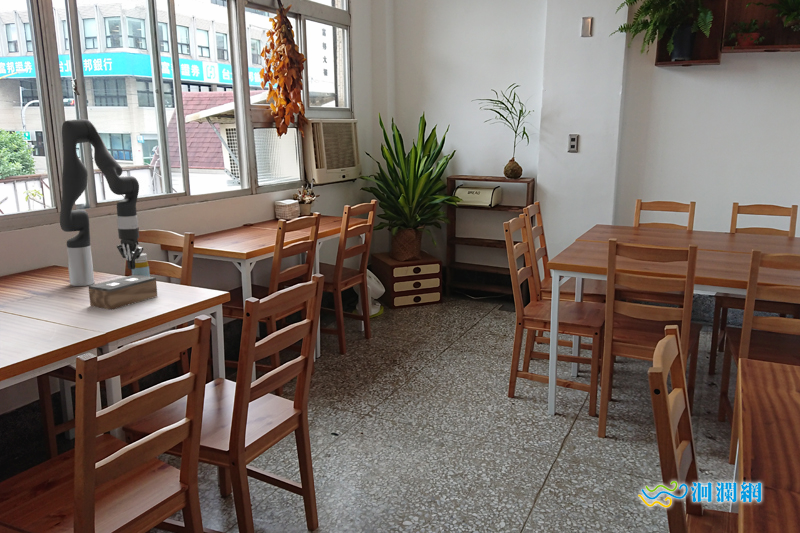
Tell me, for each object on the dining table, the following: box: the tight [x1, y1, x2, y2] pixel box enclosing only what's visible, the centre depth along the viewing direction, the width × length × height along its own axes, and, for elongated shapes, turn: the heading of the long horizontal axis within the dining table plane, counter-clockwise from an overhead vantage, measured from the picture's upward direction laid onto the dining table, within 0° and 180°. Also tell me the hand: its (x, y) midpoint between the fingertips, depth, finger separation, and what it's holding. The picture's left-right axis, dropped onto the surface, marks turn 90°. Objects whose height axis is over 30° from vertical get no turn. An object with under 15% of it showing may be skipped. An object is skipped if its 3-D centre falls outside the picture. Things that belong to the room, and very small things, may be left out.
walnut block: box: [87, 274, 158, 311], centre depth 239 cm, size 12×22×8 cm, turn 154°
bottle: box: [131, 252, 151, 277], centre depth 259 cm, size 7×7×15 cm
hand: (131, 268), depth 242 cm, fingers closed
